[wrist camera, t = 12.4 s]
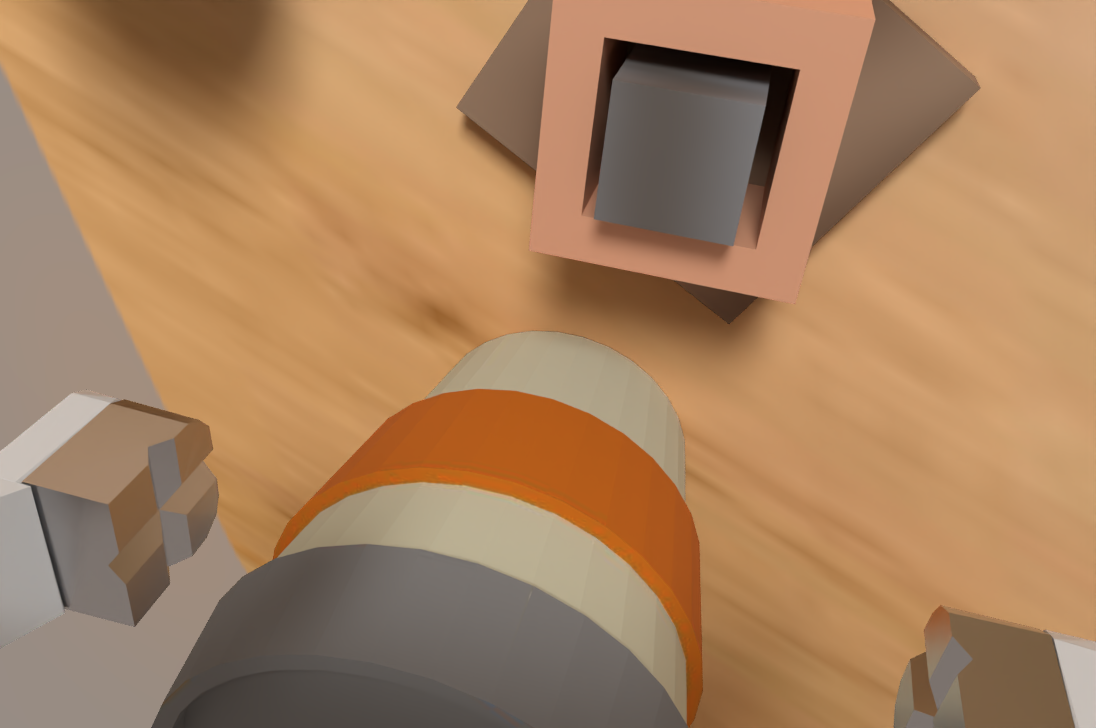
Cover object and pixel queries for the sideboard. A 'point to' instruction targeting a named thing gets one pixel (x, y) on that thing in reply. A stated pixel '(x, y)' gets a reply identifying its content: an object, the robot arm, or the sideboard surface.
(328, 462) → the sideboard surface
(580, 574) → the reusable coffee cup
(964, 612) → the robot arm
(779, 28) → the pink square socket block
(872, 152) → the base
